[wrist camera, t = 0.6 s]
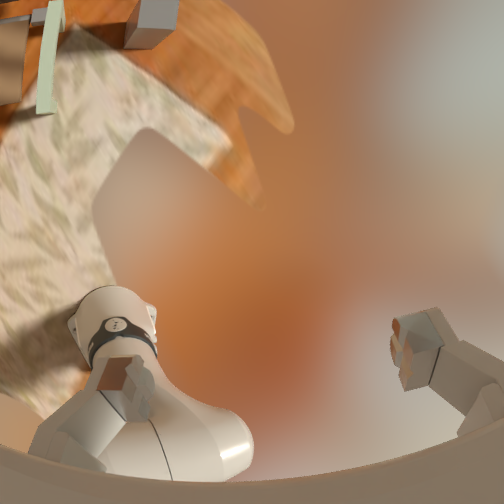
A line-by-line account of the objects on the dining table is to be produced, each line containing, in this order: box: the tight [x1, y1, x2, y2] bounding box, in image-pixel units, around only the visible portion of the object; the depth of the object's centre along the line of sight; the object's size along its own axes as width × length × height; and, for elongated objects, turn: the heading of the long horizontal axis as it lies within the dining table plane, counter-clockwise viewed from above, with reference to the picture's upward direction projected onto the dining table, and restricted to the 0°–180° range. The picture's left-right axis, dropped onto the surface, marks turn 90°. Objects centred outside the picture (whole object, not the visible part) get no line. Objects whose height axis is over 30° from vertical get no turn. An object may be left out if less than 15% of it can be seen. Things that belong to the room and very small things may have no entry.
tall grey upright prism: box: [123, 0, 179, 49], centre depth 36 cm, size 5×5×14 cm
